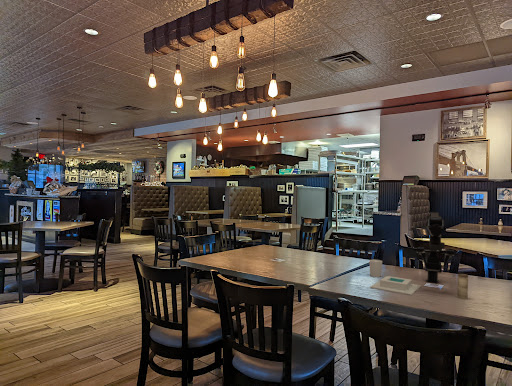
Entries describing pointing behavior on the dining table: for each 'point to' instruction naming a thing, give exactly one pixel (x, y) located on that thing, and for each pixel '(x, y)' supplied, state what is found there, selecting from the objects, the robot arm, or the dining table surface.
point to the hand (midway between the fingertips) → (434, 267)
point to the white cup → (375, 268)
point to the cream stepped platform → (396, 285)
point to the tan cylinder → (462, 286)
